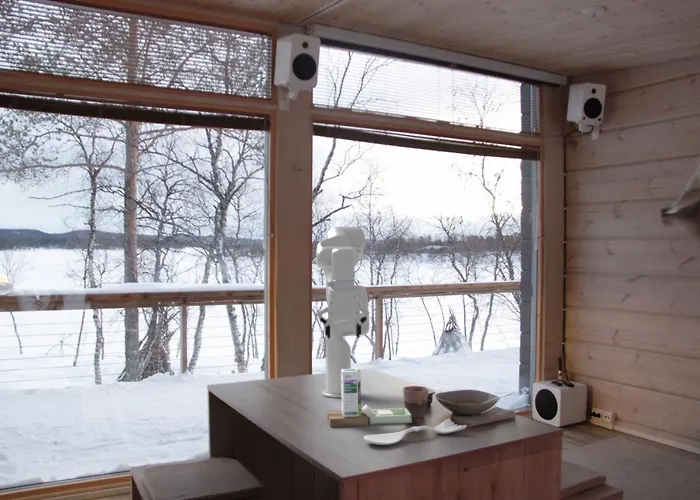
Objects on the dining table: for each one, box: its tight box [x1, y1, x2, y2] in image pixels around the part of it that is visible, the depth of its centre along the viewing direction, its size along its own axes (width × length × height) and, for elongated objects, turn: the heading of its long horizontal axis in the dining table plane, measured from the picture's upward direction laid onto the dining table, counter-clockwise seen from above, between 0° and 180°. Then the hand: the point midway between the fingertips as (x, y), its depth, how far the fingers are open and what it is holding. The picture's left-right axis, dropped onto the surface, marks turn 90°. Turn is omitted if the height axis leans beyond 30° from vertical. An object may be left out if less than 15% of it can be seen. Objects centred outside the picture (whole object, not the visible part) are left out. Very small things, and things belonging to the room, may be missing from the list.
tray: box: [368, 407, 413, 426], centre depth 204 cm, size 9×14×2 cm, turn 98°
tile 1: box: [361, 404, 377, 417], centre depth 202 cm, size 4×4×2 cm
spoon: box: [363, 418, 468, 446], centre depth 185 cm, size 9×32×4 cm, turn 117°
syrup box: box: [340, 367, 362, 417], centre depth 201 cm, size 6×6×14 cm
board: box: [326, 408, 369, 428], centre depth 202 cm, size 10×12×2 cm
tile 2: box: [377, 410, 393, 416], centre depth 205 cm, size 4×4×2 cm
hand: (343, 337), depth 208 cm, fingers open, 9 cm apart
